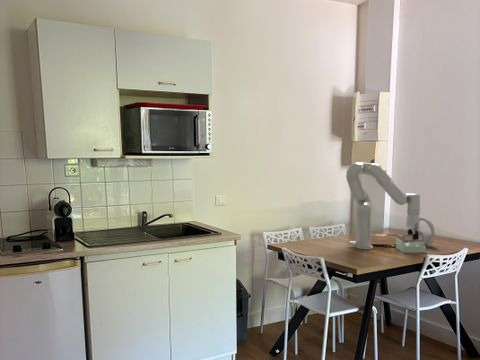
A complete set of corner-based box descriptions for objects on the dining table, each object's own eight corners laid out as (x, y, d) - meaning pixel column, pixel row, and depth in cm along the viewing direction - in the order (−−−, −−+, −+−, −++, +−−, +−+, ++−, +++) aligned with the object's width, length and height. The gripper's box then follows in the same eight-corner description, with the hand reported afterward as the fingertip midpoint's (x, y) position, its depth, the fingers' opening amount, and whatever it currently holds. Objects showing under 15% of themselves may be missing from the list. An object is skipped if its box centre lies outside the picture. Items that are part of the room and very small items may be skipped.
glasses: (396, 237, 269) (396, 231, 269) (415, 237, 269) (415, 231, 268) (403, 241, 256) (403, 234, 256) (423, 241, 256) (423, 234, 256)
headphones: (437, 247, 268) (438, 219, 266) (428, 248, 265) (428, 220, 264) (417, 242, 286) (418, 215, 285) (408, 242, 283) (409, 216, 282)
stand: (395, 248, 267) (396, 238, 267) (417, 248, 267) (417, 238, 266) (402, 252, 255) (403, 242, 255) (425, 252, 255) (425, 242, 254)
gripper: (402, 210, 265) (402, 235, 266) (413, 214, 247) (412, 241, 248) (413, 210, 264) (413, 235, 265) (425, 214, 247) (424, 240, 248)
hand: (412, 238), depth 257 cm, fingers open, 8 cm apart
